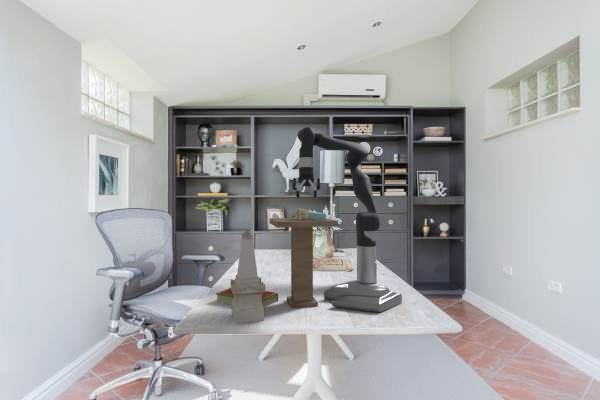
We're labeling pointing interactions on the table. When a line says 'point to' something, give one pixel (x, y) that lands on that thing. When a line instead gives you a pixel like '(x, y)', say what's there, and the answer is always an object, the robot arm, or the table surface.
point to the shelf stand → (301, 255)
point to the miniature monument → (247, 285)
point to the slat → (316, 215)
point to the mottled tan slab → (332, 264)
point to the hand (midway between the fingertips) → (306, 198)
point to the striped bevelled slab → (362, 297)
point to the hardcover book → (228, 297)
